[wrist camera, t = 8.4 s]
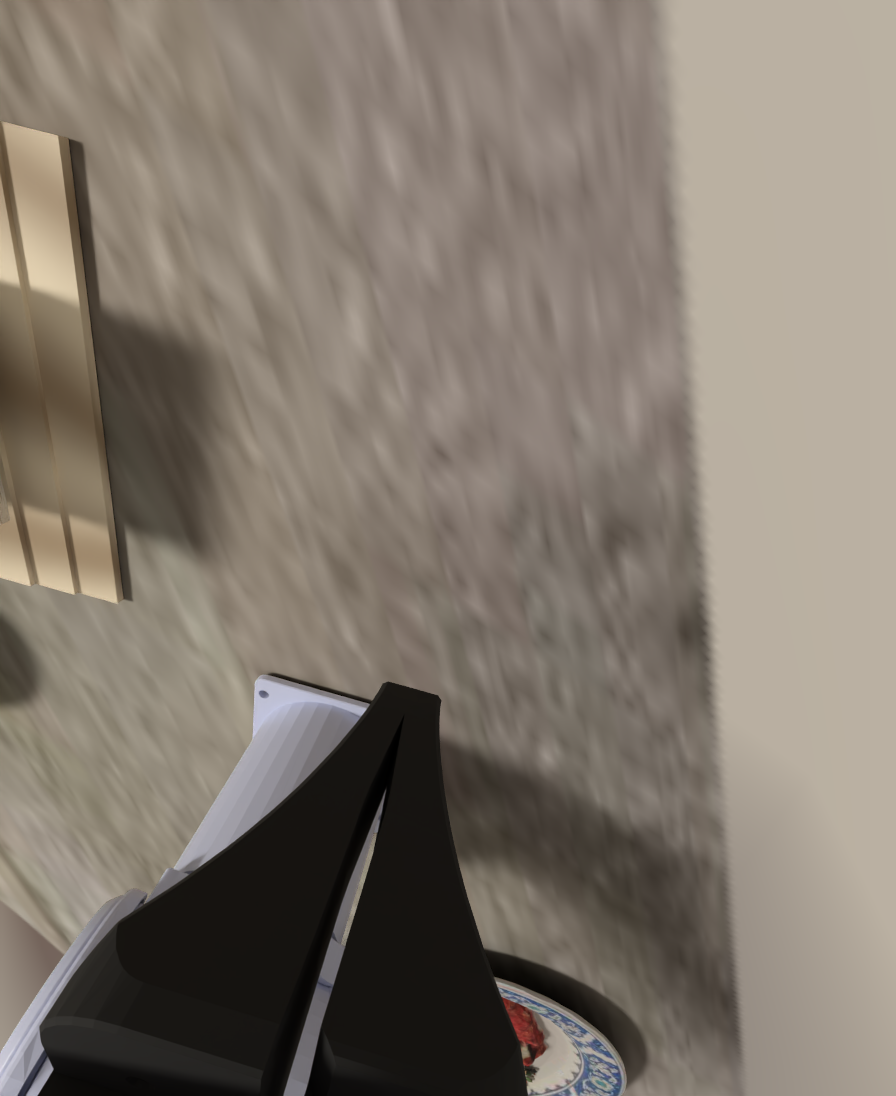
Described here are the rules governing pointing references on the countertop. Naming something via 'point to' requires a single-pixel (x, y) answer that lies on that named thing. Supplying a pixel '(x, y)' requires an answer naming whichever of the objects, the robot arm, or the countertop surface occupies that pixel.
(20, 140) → the dock
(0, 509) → the green and grey box
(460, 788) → the countertop surface
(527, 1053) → the ceramic plate
